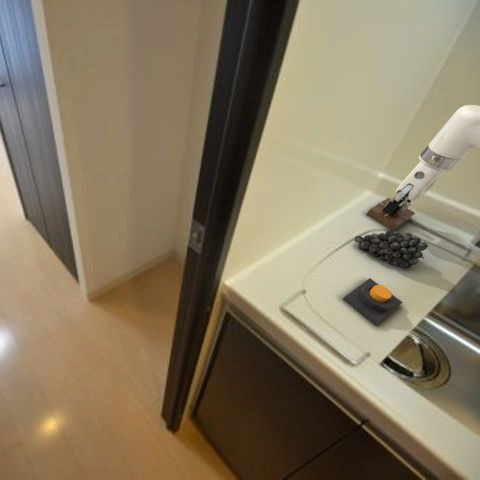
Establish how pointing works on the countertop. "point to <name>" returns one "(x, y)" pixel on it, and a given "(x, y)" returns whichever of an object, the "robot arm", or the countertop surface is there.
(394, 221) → the lock plate
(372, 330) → the countertop surface
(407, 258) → the fruit
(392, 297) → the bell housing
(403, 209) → the lock knob
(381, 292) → the bell button
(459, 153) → the robot arm
